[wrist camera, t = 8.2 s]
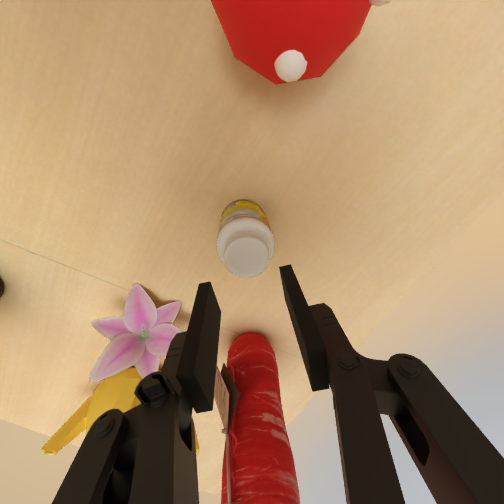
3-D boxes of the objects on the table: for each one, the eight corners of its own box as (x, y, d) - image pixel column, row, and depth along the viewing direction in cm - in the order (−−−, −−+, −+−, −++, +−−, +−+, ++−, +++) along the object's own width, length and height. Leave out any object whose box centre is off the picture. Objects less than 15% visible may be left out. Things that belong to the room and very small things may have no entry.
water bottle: (201, 331, 36) (145, 635, 14) (240, 305, 35) (247, 609, 12) (247, 368, 41) (259, 641, 19) (283, 347, 39) (345, 623, 17)
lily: (208, 324, 37) (206, 345, 28) (149, 378, 35) (126, 420, 26) (157, 269, 36) (138, 272, 27) (95, 321, 34) (51, 343, 25)
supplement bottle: (260, 243, 30) (270, 289, 21) (218, 237, 29) (210, 282, 20) (270, 202, 28) (286, 234, 19) (224, 194, 27) (218, 223, 18)
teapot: (143, 344, 37) (106, 428, 26) (211, 391, 44) (203, 474, 33) (77, 387, 41) (21, 476, 30) (149, 424, 47) (123, 508, 37)
